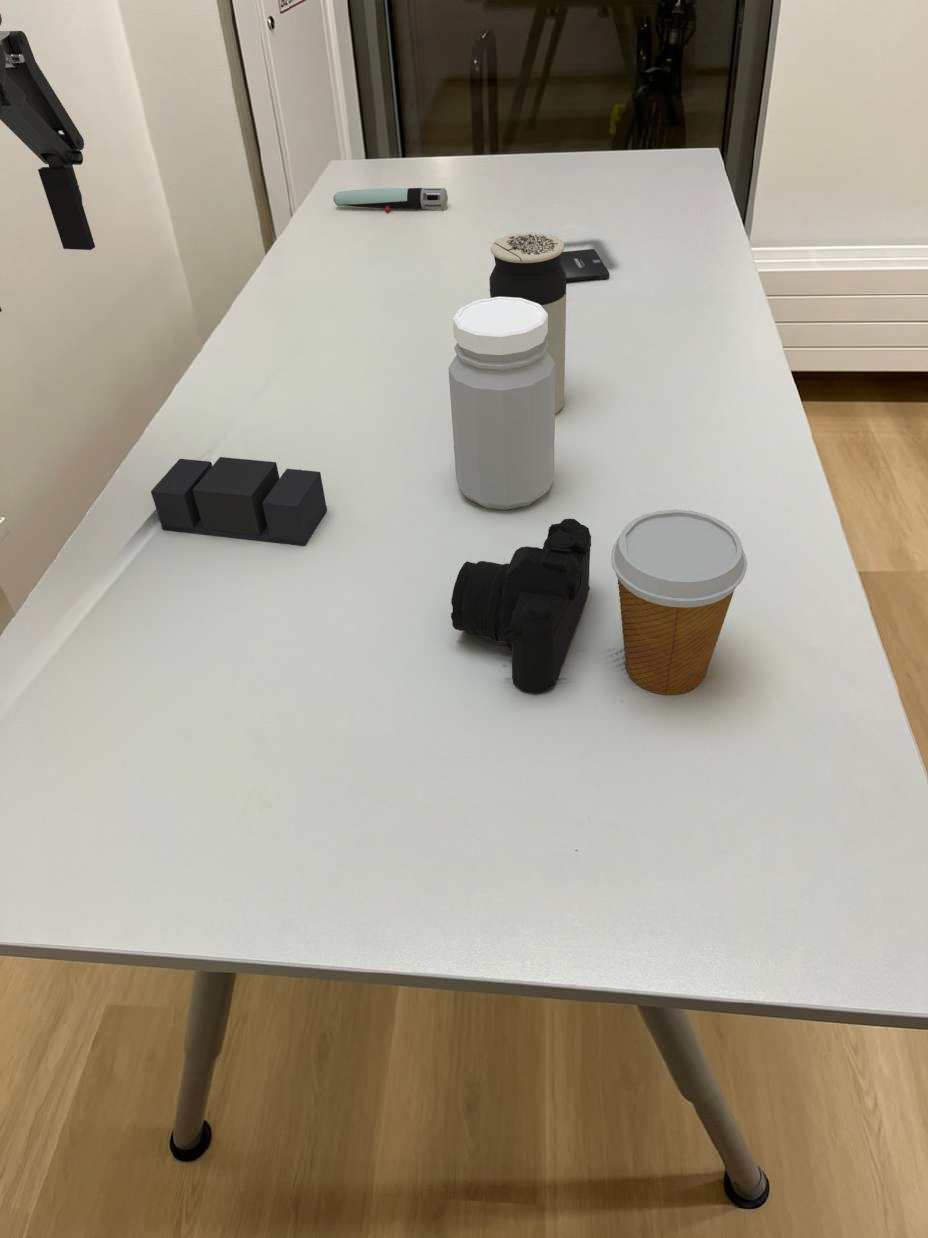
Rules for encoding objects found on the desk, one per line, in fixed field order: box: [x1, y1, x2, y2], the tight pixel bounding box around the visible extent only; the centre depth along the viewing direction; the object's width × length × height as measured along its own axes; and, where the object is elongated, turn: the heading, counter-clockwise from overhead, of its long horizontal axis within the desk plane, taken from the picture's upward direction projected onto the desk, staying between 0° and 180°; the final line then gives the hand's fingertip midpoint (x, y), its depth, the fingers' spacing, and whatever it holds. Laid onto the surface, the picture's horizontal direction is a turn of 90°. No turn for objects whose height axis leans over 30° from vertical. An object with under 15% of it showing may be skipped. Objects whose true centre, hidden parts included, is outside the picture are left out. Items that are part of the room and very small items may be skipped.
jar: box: [448, 297, 556, 511], centre depth 90 cm, size 10×10×18 cm
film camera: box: [450, 518, 592, 695], centre depth 76 cm, size 15×10×9 cm, turn 161°
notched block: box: [150, 458, 328, 547], centre depth 92 cm, size 15×6×4 cm, turn 76°
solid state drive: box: [560, 248, 610, 283], centre depth 138 cm, size 7×10×1 cm
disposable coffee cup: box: [610, 509, 748, 695], centre depth 71 cm, size 10×10×12 cm
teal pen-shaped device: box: [333, 187, 449, 214], centre depth 162 cm, size 3×4×20 cm
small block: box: [193, 456, 280, 535], centre depth 92 cm, size 6×6×4 cm
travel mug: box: [489, 232, 567, 414], centre depth 102 cm, size 8×8×18 cm
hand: (34, 278), depth 78 cm, fingers open, 13 cm apart
